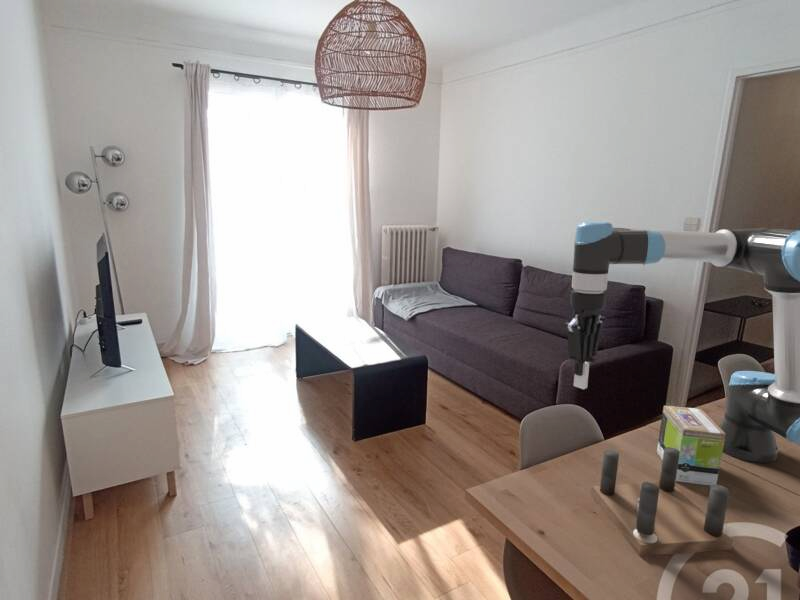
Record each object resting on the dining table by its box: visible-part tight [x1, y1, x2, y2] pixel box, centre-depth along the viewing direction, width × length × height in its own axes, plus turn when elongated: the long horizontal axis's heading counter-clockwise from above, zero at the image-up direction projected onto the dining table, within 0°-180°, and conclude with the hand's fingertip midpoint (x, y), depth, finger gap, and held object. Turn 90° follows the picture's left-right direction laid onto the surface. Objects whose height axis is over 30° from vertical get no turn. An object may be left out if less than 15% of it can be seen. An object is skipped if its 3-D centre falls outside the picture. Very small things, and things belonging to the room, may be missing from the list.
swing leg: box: [636, 481, 659, 537], centre depth 100 cm, size 13×3×11 cm, turn 154°
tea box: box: [656, 405, 725, 487], centre depth 125 cm, size 15×10×15 cm, turn 168°
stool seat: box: [590, 447, 734, 557], centre depth 104 cm, size 20×20×12 cm
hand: (580, 386), depth 113 cm, fingers closed
